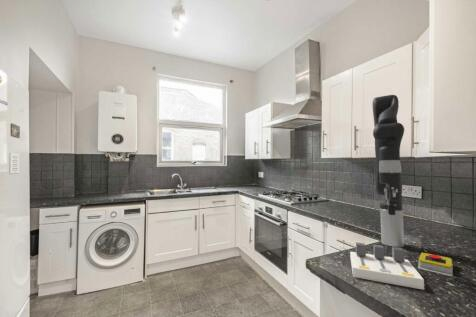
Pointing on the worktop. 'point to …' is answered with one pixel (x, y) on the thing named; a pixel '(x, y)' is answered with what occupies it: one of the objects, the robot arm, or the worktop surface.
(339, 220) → the worktop surface
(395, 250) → the switch
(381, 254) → the switch
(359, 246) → the switch
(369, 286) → the worktop surface
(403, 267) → the switch panel
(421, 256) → the emergency button
